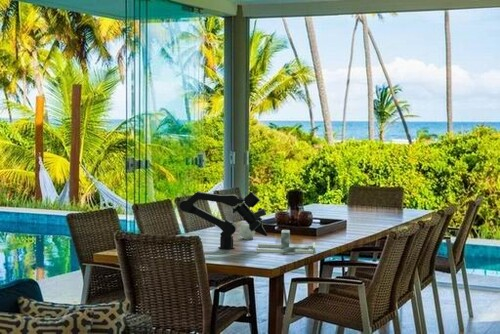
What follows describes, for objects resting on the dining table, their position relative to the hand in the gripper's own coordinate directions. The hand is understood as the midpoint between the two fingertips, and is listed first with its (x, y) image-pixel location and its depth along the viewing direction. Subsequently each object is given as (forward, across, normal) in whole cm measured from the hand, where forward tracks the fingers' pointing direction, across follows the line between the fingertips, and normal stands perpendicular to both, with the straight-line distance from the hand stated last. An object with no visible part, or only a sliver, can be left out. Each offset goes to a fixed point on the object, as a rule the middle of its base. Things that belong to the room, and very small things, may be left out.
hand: (266, 235), depth 454 cm
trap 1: (+14, -12, -3) cm, 19 cm away
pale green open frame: (+12, 0, -2) cm, 12 cm away
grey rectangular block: (+16, 0, -5) cm, 16 cm away
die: (-4, +38, +15) cm, 41 cm away
